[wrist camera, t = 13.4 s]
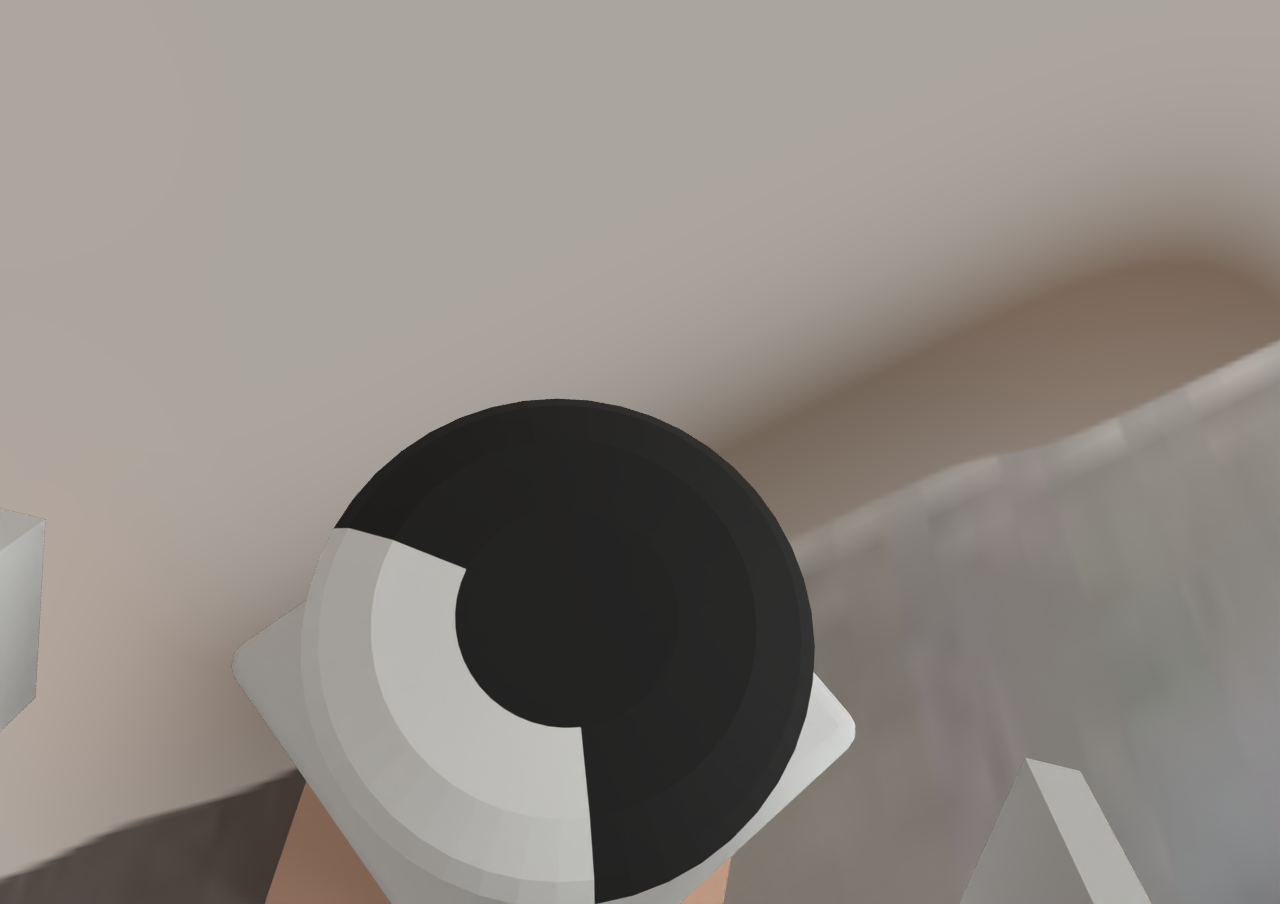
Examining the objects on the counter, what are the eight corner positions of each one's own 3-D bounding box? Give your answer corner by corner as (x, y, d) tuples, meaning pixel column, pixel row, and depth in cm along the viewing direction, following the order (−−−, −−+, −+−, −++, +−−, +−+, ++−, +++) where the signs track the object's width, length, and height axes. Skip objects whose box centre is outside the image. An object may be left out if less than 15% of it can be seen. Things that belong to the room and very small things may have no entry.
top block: (731, 644, 30) (775, 596, 25) (665, 1002, 26) (703, 1021, 21) (414, 565, 29) (400, 501, 25) (301, 915, 26) (260, 914, 21)
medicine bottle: (565, 530, 25) (614, 236, 14) (768, 778, 23) (1005, 667, 12) (299, 726, 23) (104, 557, 12) (503, 1018, 21) (504, 1142, 10)
